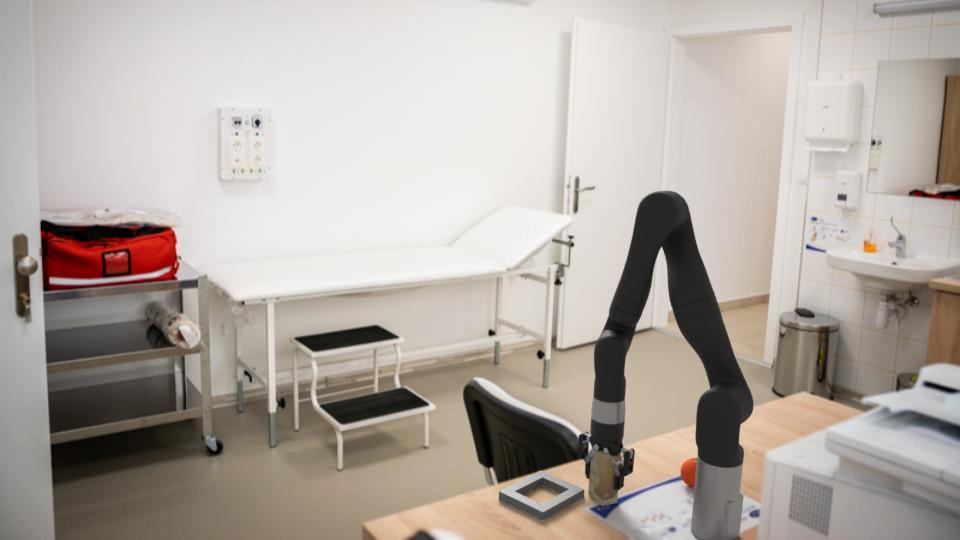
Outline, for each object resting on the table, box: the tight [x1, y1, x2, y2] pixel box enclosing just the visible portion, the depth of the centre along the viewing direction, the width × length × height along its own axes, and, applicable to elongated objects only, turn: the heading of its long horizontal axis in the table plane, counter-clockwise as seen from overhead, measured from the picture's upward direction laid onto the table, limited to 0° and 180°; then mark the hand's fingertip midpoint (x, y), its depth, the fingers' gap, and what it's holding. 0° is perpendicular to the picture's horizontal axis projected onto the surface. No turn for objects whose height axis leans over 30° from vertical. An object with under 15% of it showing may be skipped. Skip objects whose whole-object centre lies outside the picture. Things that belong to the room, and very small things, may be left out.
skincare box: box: [587, 446, 622, 507], centre depth 181 cm, size 6×4×12 cm
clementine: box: [679, 457, 697, 489], centre depth 189 cm, size 8×7×7 cm
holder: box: [498, 470, 585, 521], centre depth 182 cm, size 13×15×2 cm
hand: (603, 483), depth 182 cm, fingers closed on skincare box, 7 cm apart
